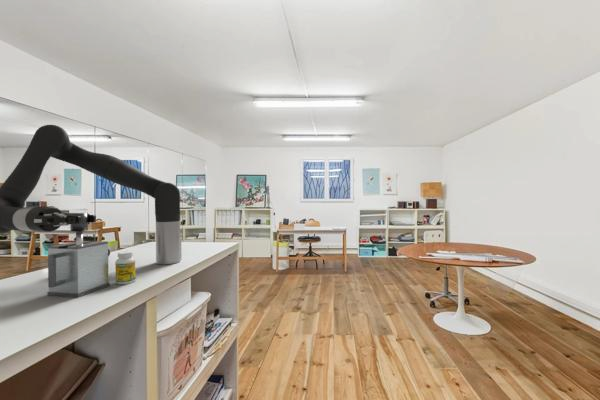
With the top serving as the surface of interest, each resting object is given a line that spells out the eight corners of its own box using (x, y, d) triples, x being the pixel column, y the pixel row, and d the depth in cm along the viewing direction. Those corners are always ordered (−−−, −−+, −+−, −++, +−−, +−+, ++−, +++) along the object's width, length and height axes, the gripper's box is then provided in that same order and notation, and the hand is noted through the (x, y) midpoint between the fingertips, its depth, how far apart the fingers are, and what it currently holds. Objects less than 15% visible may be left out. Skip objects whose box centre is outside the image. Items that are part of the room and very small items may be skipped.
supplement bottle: (135, 278, 91) (134, 250, 91) (136, 282, 86) (135, 252, 86) (115, 281, 88) (115, 251, 88) (115, 285, 83) (115, 254, 83)
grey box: (81, 284, 85) (81, 240, 85) (109, 285, 84) (109, 241, 84) (34, 299, 72) (34, 248, 72) (66, 301, 71) (66, 249, 71)
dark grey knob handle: (81, 271, 83) (80, 212, 83) (100, 272, 82) (100, 212, 82) (57, 277, 77) (56, 214, 76) (78, 278, 75) (77, 214, 75)
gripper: (9, 207, 75) (62, 207, 72) (62, 205, 89) (108, 205, 86) (9, 234, 75) (62, 235, 72) (62, 228, 89) (108, 229, 86)
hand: (87, 219), depth 79 cm, fingers closed on dark grey knob handle, 4 cm apart
